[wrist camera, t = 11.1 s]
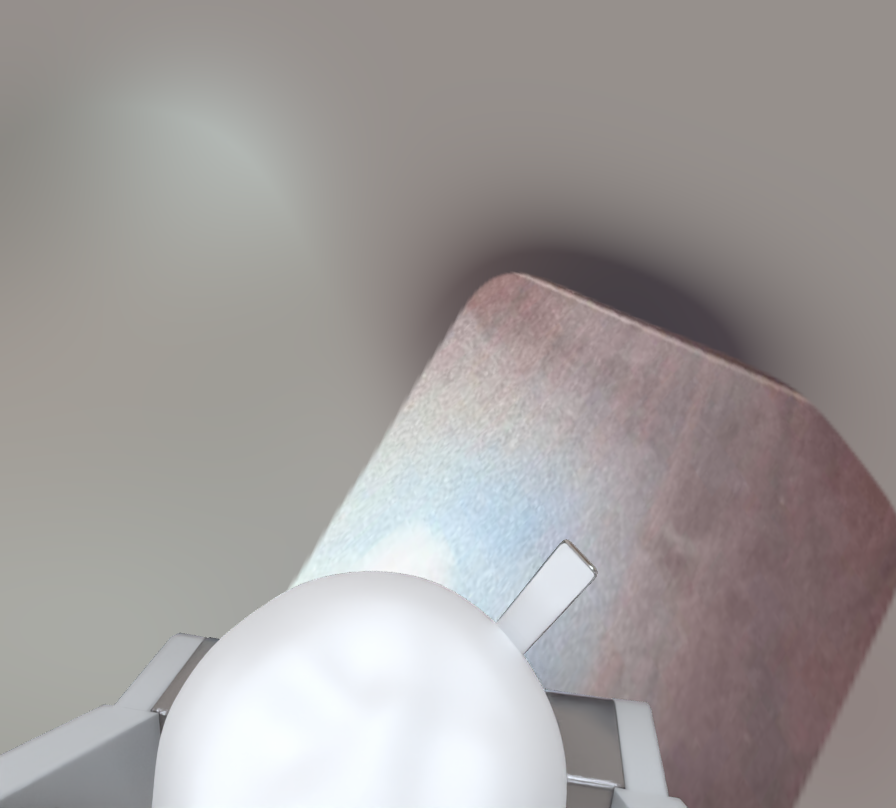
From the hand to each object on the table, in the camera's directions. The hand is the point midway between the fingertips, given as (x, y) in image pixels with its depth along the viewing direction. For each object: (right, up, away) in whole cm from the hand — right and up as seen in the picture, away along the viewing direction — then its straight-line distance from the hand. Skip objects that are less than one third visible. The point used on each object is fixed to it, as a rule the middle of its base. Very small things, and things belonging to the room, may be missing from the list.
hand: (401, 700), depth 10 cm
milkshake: (0, -3, +5) cm, 6 cm away
